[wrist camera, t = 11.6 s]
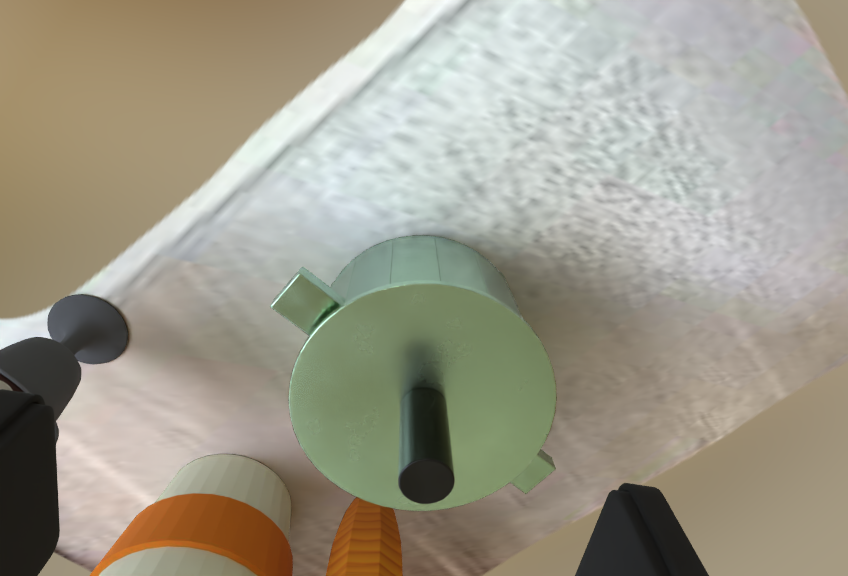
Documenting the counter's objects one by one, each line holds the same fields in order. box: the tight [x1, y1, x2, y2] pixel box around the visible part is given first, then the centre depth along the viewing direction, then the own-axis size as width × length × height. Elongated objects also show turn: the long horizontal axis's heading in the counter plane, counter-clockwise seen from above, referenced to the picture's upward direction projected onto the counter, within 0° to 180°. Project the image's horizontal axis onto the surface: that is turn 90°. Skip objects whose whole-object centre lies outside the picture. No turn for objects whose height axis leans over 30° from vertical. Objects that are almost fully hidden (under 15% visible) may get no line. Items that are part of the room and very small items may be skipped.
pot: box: [270, 235, 556, 494], centre depth 34 cm, size 13×18×8 cm
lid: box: [288, 280, 557, 511], centre depth 27 cm, size 14×14×7 cm
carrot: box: [326, 497, 403, 576], centre depth 36 cm, size 5×5×15 cm
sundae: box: [0, 295, 128, 442], centre depth 30 cm, size 7×7×15 cm
